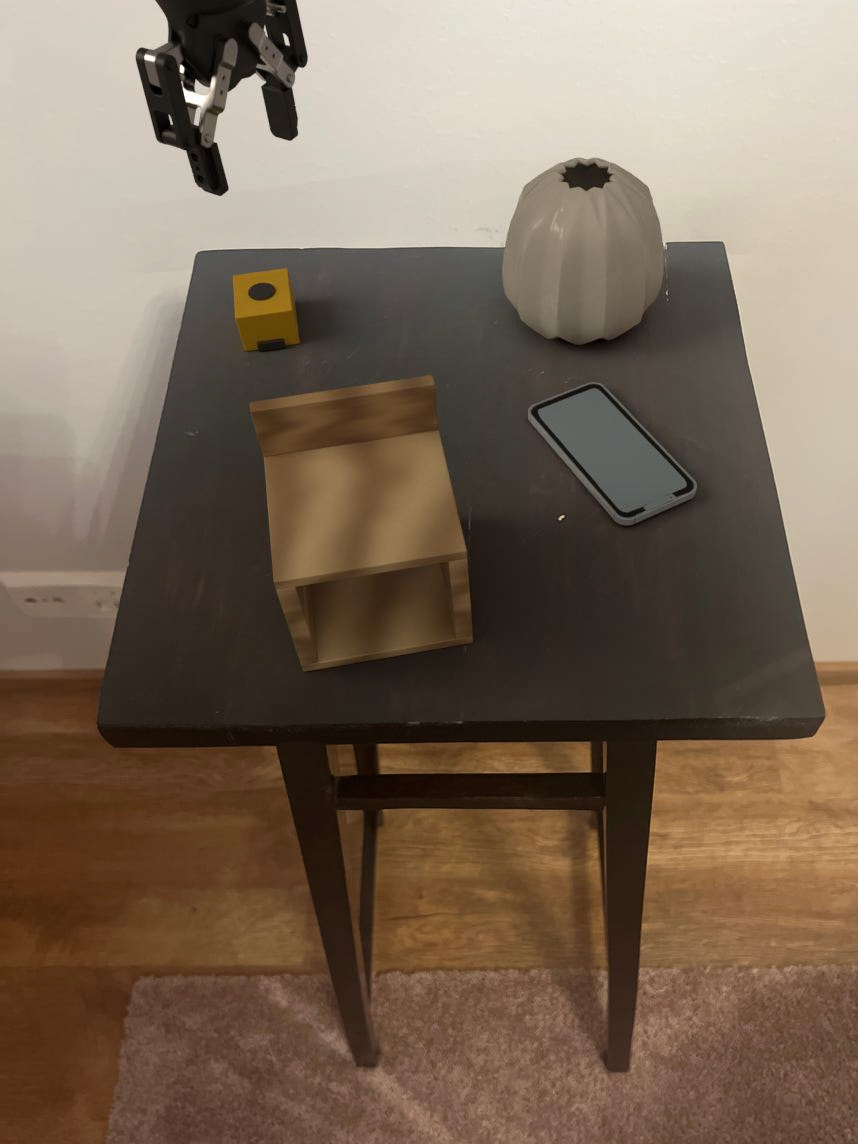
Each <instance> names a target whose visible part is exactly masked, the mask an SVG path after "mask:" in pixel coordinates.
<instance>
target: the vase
mask: <svg viewBox="0 0 858 1144" xmlns="http://www.w3.org/2000/svg"><path fill="white" fill-rule="evenodd" d="M661 228H662V227H661V221H660V219H659V216H658V213H657V209H656V207H655V205H654V199H653V196H652V193H651V190H650V188H649V186H648V185H647V184H646V183H645V182H643V181H642V180H641V179H640V178H638V176H636V175H634V174H633V173H632V172H630V171H628V170H627V169H625V168H623V167H622V166H620V165H618V164H617V163H614V162H611V161H608V160H605V159H603V158H600V157H590V158H583V157H574V158H570V159H568V160H566V161H562V162H559V163H557V164H554V165H553V166H551V167H549V168H548V169H546V170H544V171H543V172H541V173H540V174H539V175H537V176H535V177H534V178H533V179H531V180H530V181H528V183H526V184H525V185H524V186H523V188H522V190H521V193H520V195H519V196H518V200H517V204H516V207H515V210H514V212H513V215H512V217H511V219H510V222H509V227H508V231H507V234H506V240H505V245H504V250H503V259H502V267H501V268H502V269H501V275H502V277H501V278H502V287H503V291H504V295H505V297H506V299H507V300H508V301H509V302H510V304H511V305H512V306H513V308H514V309H515V310H516V311H517V313H518V316H519V320H520V321H521V322H523V323H524V324H525V325H526V326H528V327H529V328H531V329H532V330H533V331H535V332H536V333H538V334H539V335H541V337H544V338H545V339H547V340H554V339H562V340H564V341H566V342H569V343H570V344H573V345H576V346H581V345H584V344H587V343H591V342H593V341H596V340H598V339H601V340H604V341H611V340H614V339H616V338H618V337H619V336H621V335H622V334H624V333H626V332H628V331H629V330H630V329H632V328H633V327H635V326H637V325H639V324H640V323H641V321H642V319H643V316H644V313H645V312H646V311H647V310H648V309H649V308H650V307H651V306H652V305H653V303H655V302H656V300H657V299H658V297H659V295H660V291H661V288H662V285H663V280H664V279H663V278H664V269H665V268H664V264H665V263H664V244H663V242H664V241H663V233H662V229H661Z"/></svg>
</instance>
